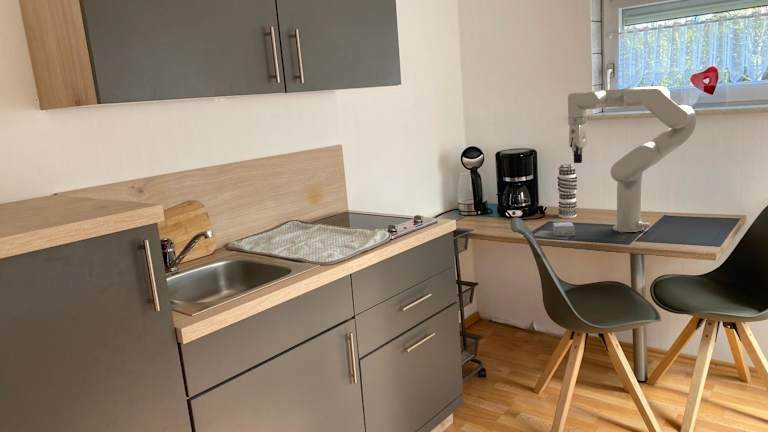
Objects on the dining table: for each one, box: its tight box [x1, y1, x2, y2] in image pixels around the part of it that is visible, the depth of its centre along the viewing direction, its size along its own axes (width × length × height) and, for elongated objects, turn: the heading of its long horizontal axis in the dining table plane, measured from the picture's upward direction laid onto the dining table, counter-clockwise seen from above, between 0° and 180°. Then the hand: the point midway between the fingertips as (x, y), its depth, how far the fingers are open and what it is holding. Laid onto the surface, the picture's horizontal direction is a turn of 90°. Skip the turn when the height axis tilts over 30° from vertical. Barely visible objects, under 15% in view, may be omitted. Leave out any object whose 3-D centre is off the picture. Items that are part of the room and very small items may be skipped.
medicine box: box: [552, 221, 576, 237], centre depth 263 cm, size 8×4×9 cm
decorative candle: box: [556, 163, 578, 219], centre depth 294 cm, size 9×9×25 cm
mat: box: [533, 230, 573, 241], centre depth 264 cm, size 16×9×1 cm, turn 50°
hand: (577, 162), depth 271 cm, fingers closed
